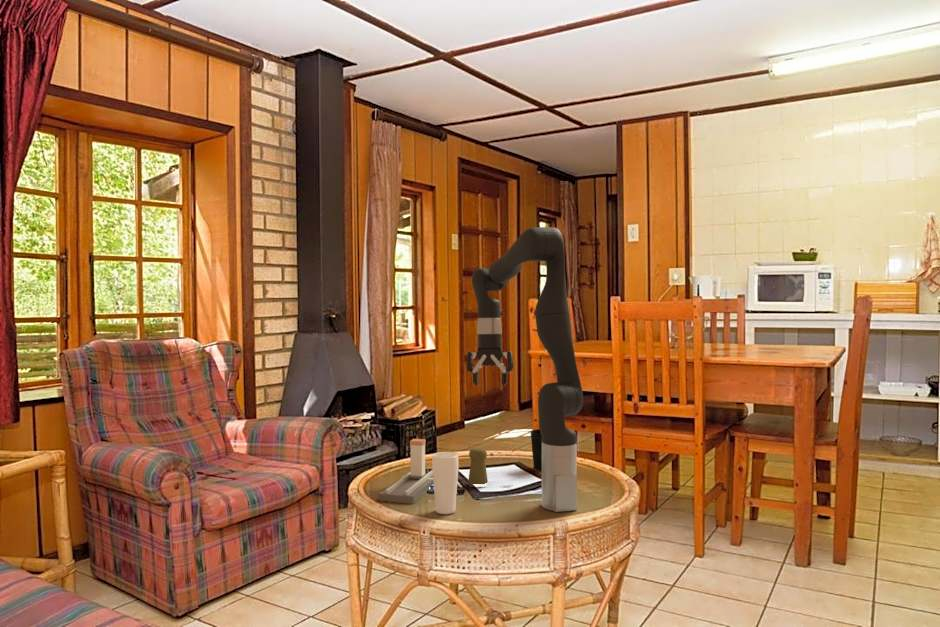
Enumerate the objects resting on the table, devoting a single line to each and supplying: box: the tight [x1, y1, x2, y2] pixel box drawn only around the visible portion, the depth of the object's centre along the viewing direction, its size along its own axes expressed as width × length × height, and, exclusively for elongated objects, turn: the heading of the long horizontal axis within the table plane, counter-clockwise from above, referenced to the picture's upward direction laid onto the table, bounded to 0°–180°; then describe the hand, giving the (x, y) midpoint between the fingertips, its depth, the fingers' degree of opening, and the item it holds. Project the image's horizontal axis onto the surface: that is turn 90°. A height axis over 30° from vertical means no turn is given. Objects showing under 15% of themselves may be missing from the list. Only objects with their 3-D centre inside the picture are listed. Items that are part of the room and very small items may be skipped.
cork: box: [467, 447, 489, 484], centre depth 209 cm, size 6×6×11 cm
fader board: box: [378, 470, 433, 505], centre depth 204 cm, size 24×10×3 cm, turn 165°
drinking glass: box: [431, 451, 459, 515], centre depth 184 cm, size 7×7×15 cm
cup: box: [530, 428, 542, 472], centre depth 228 cm, size 8×8×12 cm
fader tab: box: [409, 438, 427, 479], centre depth 209 cm, size 4×4×11 cm
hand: (490, 385), depth 218 cm, fingers open, 8 cm apart
